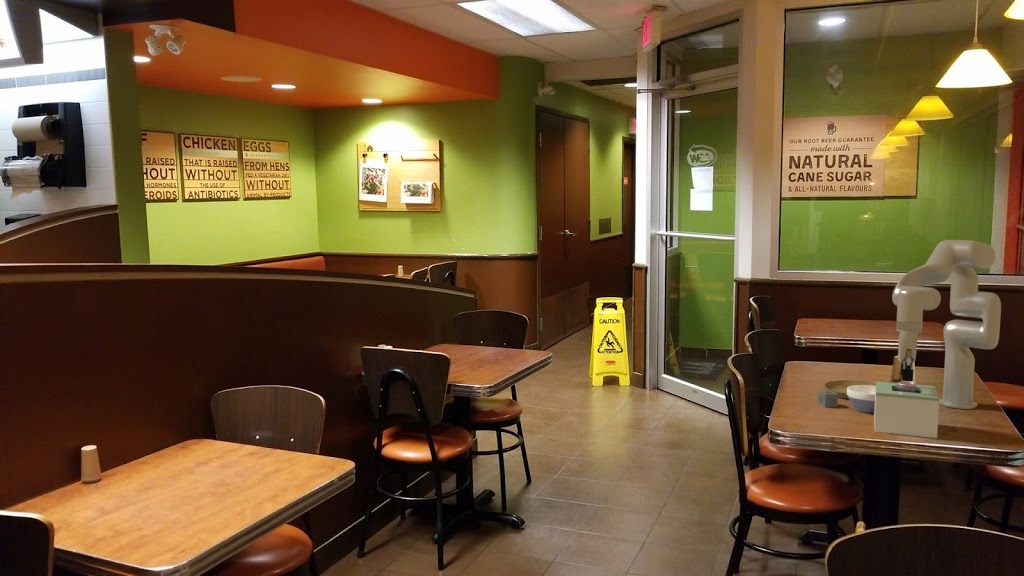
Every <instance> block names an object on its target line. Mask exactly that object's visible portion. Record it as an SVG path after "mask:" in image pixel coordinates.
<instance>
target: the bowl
mask: <svg viewBox="0 0 1024 576" xmlns="http://www.w3.org/2000/svg"><path fill="white" fill-rule="evenodd" d="M875 388H876V386H868V385H853V386H849V387H847V396H848V398H849V399H848V400H849V401H850V404H851V405H852V406H853V408H854V410H856V411H858V412H860V411H861V412H862V413H865V412H866V414H874V410H875Z"/></svg>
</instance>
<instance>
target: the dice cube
mask: <svg viewBox="0 0 1024 576" xmlns="http://www.w3.org/2000/svg"><path fill="white" fill-rule="evenodd" d="M838 400H839V397H838V393H835V392H833V391H827V390H817V405H818V406H821V407H822V408H838V406H839V405H838V403H839V401H838Z"/></svg>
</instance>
